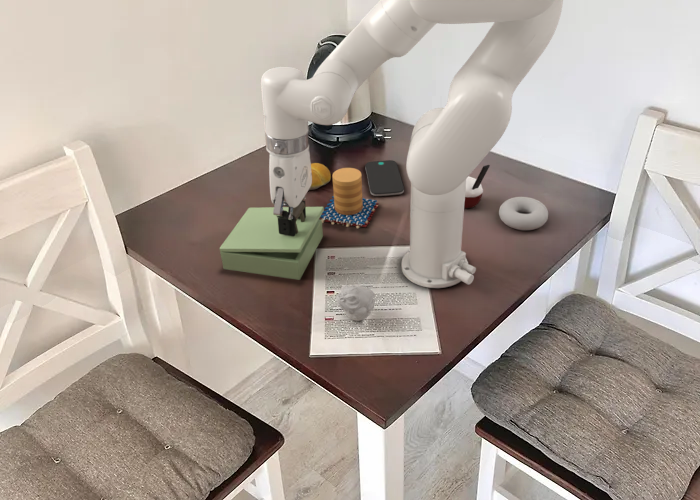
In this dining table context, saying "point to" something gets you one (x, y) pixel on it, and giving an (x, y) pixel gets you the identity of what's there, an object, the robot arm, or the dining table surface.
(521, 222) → the donut
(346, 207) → the cookies
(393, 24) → the robot arm
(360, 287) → the frog figurine
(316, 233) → the box
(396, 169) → the smartphone
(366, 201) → the woven mat
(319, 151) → the dining table surface
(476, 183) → the cocoa
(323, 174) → the bread roll
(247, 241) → the box lid
